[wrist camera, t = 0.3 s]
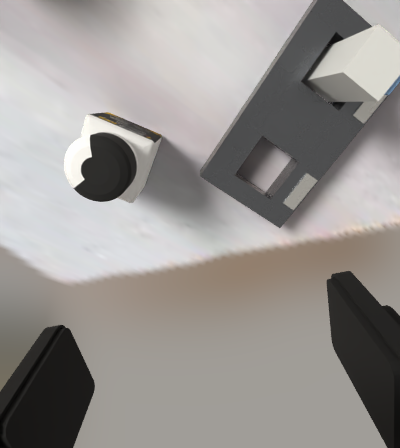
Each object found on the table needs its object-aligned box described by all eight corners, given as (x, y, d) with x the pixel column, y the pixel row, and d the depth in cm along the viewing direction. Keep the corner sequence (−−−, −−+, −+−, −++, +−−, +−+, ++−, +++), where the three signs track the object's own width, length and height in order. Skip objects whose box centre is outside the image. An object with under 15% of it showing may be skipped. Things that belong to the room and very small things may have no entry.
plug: (325, 47, 34) (379, 23, 24) (355, 73, 35) (420, 60, 24) (301, 81, 35) (342, 72, 25) (331, 104, 36) (383, 105, 26)
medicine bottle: (163, 135, 37) (147, 149, 26) (144, 187, 40) (122, 221, 29) (106, 111, 36) (64, 114, 25) (90, 166, 39) (46, 192, 28)
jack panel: (315, -4, 32) (327, -15, 29) (396, 66, 34) (415, 63, 31) (200, 171, 39) (200, 176, 36) (274, 219, 41) (280, 228, 38)
